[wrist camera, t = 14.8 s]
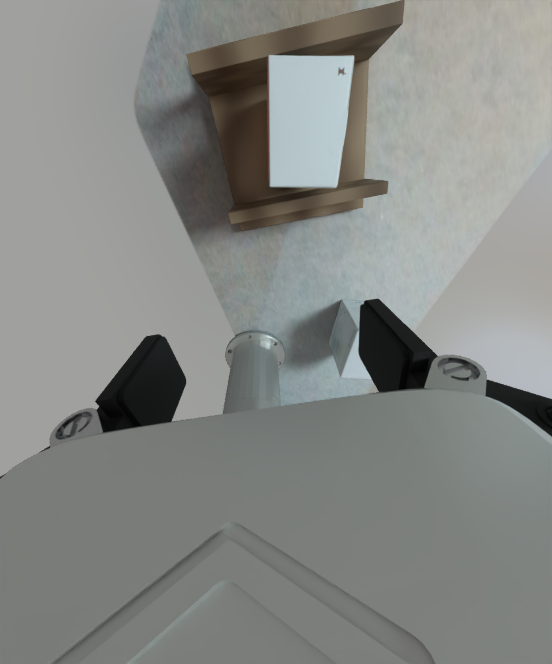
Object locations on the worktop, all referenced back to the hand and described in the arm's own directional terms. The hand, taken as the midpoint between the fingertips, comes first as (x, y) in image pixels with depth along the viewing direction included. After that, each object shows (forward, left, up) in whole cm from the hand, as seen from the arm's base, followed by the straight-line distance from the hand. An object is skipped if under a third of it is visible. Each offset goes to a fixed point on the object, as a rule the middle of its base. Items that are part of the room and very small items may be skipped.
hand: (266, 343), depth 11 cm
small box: (+9, -5, -29) cm, 30 cm away
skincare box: (-21, -13, -30) cm, 39 cm away
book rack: (+9, -5, -30) cm, 32 cm away
